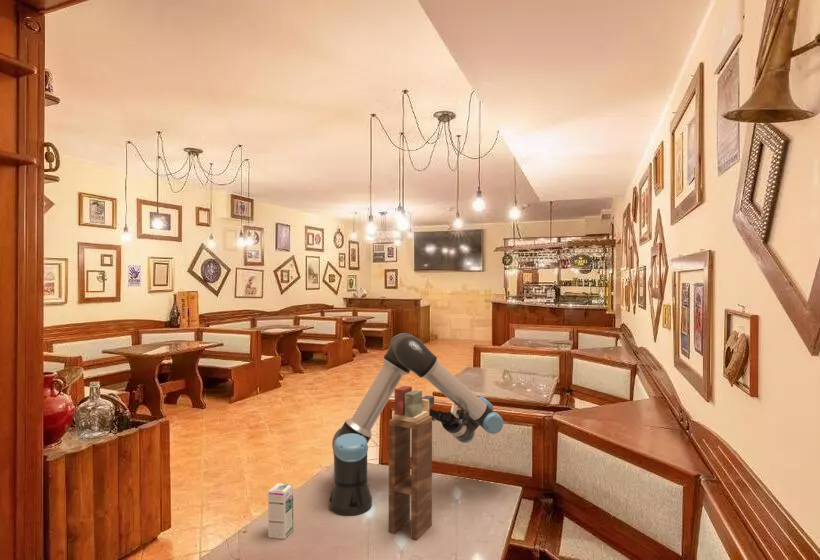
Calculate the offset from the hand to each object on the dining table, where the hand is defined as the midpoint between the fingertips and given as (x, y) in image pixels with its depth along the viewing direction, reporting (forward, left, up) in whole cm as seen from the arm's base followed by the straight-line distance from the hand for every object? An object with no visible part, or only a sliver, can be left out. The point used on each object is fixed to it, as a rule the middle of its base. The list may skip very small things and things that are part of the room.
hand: (434, 405), depth 164 cm
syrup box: (-35, -38, -36) cm, 63 cm away
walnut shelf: (-1, -16, -35) cm, 39 cm away
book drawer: (-1, -11, 0) cm, 11 cm away
